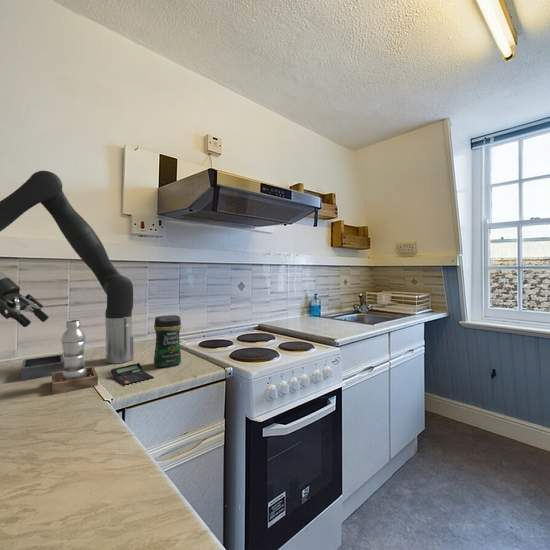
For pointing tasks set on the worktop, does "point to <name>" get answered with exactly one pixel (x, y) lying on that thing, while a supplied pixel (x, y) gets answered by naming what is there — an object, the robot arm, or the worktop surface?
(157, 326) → the coffee jar
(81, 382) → the wooden square tray
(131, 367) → the calculator
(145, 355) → the worktop surface
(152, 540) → the worktop surface
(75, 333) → the silver metal bottle
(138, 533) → the worktop surface
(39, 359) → the gray square tray
